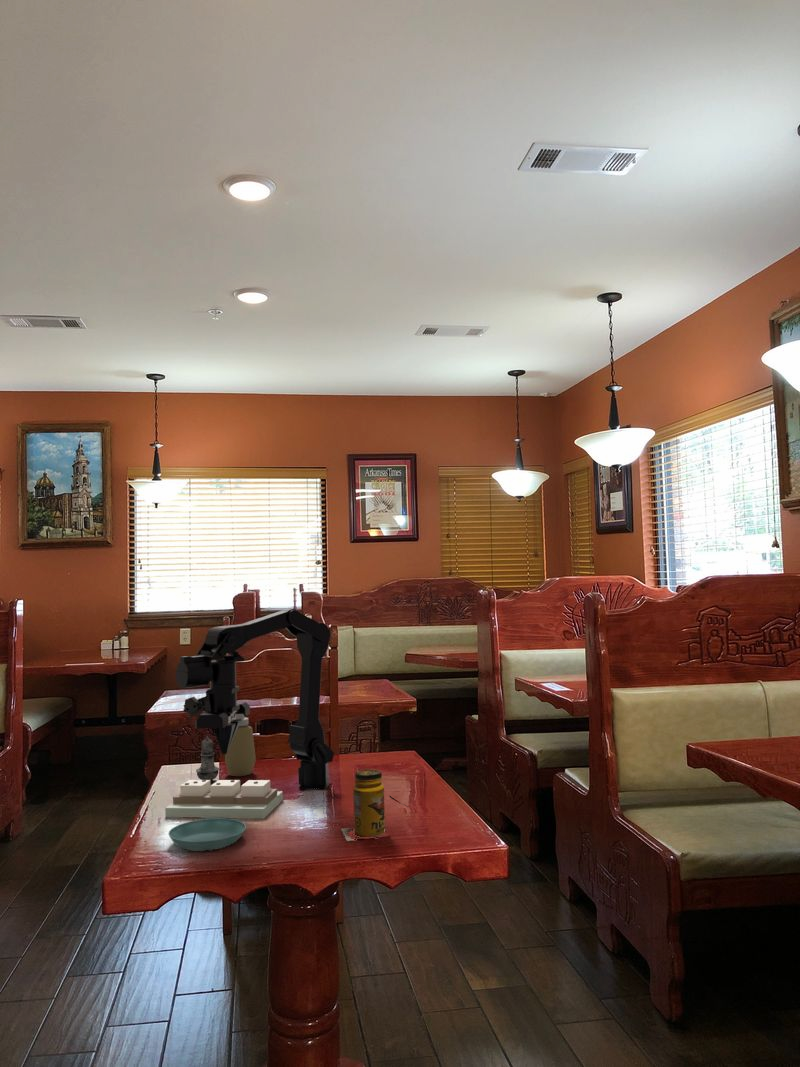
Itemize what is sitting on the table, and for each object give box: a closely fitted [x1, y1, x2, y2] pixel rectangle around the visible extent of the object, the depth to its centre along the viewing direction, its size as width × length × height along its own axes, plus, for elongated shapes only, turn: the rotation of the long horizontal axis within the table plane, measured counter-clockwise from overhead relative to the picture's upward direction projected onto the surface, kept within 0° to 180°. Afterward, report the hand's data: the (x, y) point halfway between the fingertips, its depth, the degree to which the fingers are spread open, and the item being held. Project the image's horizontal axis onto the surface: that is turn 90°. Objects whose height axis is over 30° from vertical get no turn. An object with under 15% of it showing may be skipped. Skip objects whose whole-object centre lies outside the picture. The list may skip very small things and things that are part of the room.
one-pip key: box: [240, 779, 271, 797], centre depth 178 cm, size 5×5×3 cm
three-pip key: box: [179, 779, 211, 796], centre depth 179 cm, size 5×5×3 cm
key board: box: [164, 788, 284, 819], centre depth 178 cm, size 22×14×3 cm, turn 82°
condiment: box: [341, 768, 386, 842], centre depth 158 cm, size 7×8×12 cm
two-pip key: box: [211, 779, 241, 797], centre depth 178 cm, size 5×5×3 cm
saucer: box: [168, 818, 247, 852], centre depth 156 cm, size 15×15×3 cm
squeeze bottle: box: [224, 714, 257, 777], centre depth 210 cm, size 8×8×18 cm
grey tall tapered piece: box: [195, 735, 221, 785], centre depth 201 cm, size 6×6×12 cm
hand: (224, 753), depth 179 cm, fingers closed
